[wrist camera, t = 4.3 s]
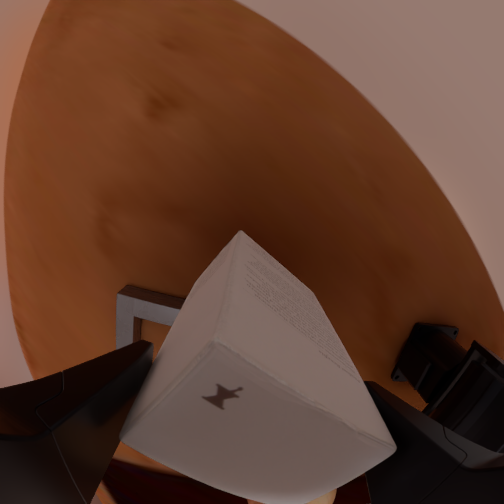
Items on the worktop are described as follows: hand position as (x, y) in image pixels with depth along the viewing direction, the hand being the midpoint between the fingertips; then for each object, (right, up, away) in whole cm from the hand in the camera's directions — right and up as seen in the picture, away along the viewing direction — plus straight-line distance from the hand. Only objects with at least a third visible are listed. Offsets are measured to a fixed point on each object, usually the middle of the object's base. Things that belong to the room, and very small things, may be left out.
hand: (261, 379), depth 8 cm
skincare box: (0, +2, +9) cm, 9 cm away
